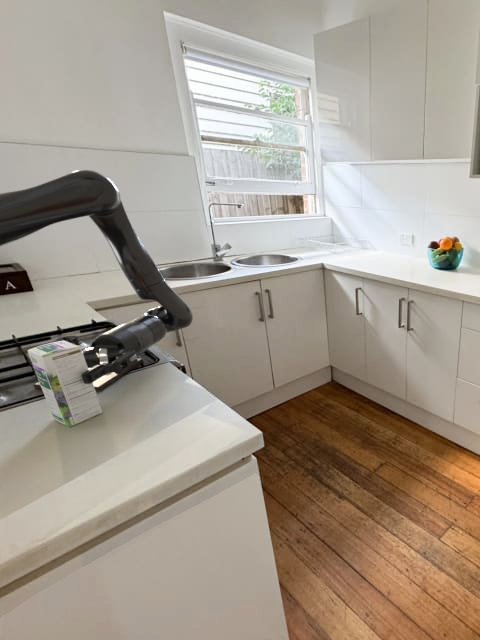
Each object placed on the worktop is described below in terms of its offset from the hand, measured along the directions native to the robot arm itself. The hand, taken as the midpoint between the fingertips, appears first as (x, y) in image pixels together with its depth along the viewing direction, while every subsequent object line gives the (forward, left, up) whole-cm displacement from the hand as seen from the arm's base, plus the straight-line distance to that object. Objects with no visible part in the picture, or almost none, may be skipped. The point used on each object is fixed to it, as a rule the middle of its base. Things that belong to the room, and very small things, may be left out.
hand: (61, 378), depth 69 cm
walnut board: (-10, +17, -9) cm, 21 cm away
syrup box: (0, +1, -9) cm, 9 cm away
